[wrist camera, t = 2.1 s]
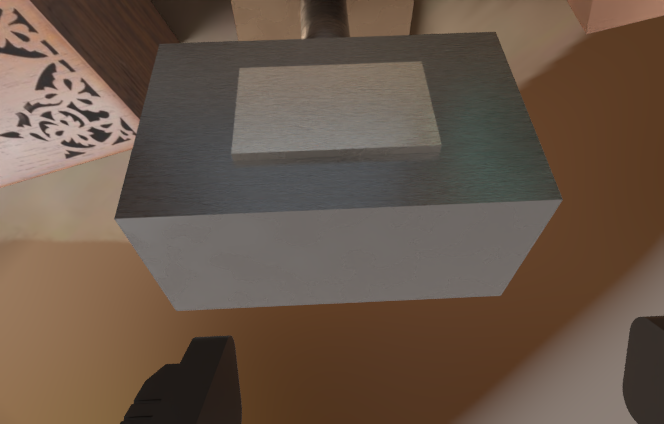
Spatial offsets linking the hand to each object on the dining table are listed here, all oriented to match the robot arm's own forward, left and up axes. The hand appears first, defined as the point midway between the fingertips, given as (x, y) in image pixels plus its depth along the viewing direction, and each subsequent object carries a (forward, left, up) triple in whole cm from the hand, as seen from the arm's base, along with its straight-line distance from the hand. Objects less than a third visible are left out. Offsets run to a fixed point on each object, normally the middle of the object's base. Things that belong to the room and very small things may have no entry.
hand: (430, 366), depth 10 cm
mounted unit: (+8, -1, -28) cm, 29 cm away
